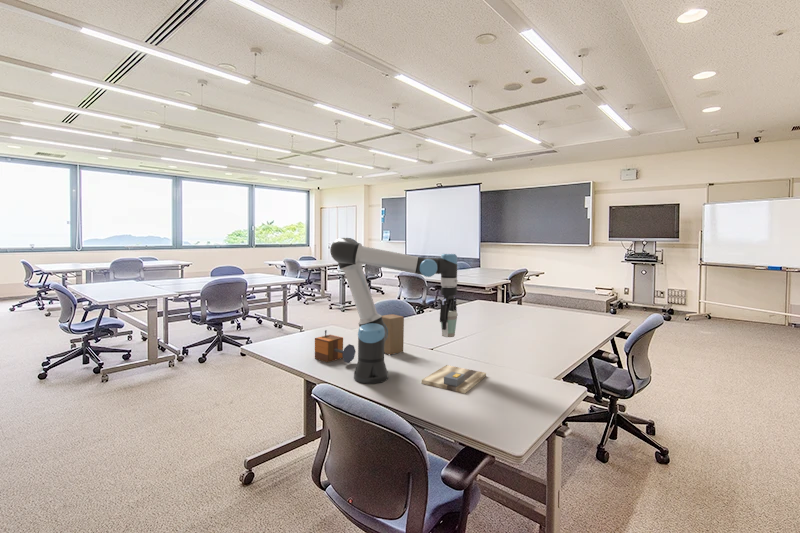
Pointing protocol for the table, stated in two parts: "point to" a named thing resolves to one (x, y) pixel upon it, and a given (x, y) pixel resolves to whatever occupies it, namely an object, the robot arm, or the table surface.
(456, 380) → the block
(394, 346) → the wooden block
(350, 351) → the wooden box with disc
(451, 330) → the coffee cup
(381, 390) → the table surface
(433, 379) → the plywood panel
